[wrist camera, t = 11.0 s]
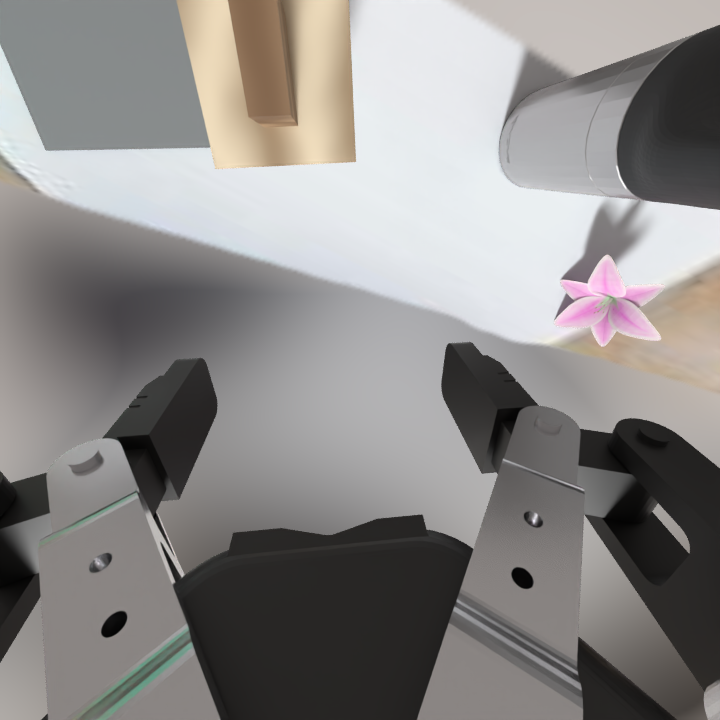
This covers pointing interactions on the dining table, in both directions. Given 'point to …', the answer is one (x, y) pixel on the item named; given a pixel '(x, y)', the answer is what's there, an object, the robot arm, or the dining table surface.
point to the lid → (273, 80)
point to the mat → (104, 73)
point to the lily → (609, 305)
